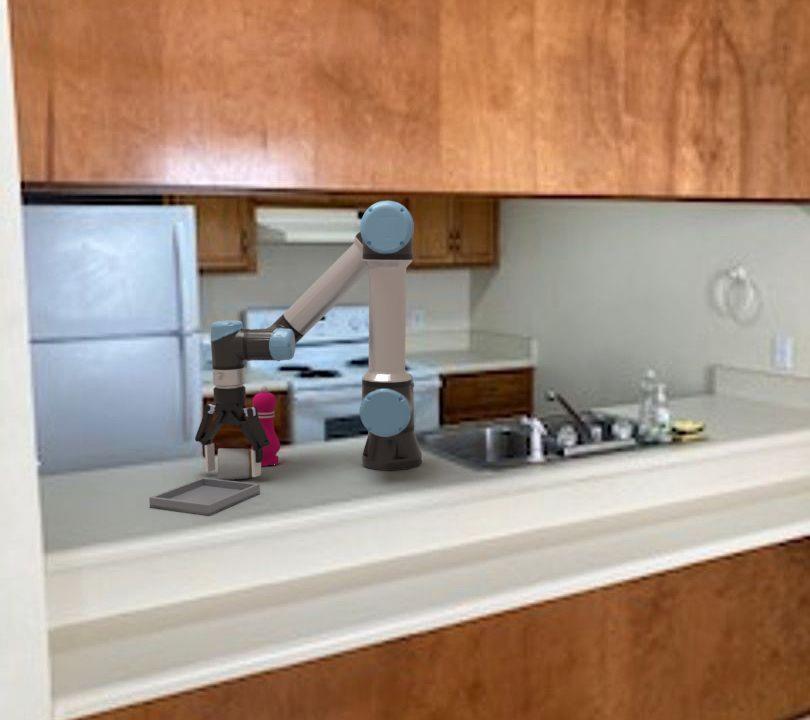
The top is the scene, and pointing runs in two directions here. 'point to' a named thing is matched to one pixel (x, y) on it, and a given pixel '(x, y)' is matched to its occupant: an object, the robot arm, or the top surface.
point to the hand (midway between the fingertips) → (233, 473)
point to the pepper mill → (267, 424)
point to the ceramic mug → (234, 464)
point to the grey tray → (204, 496)
